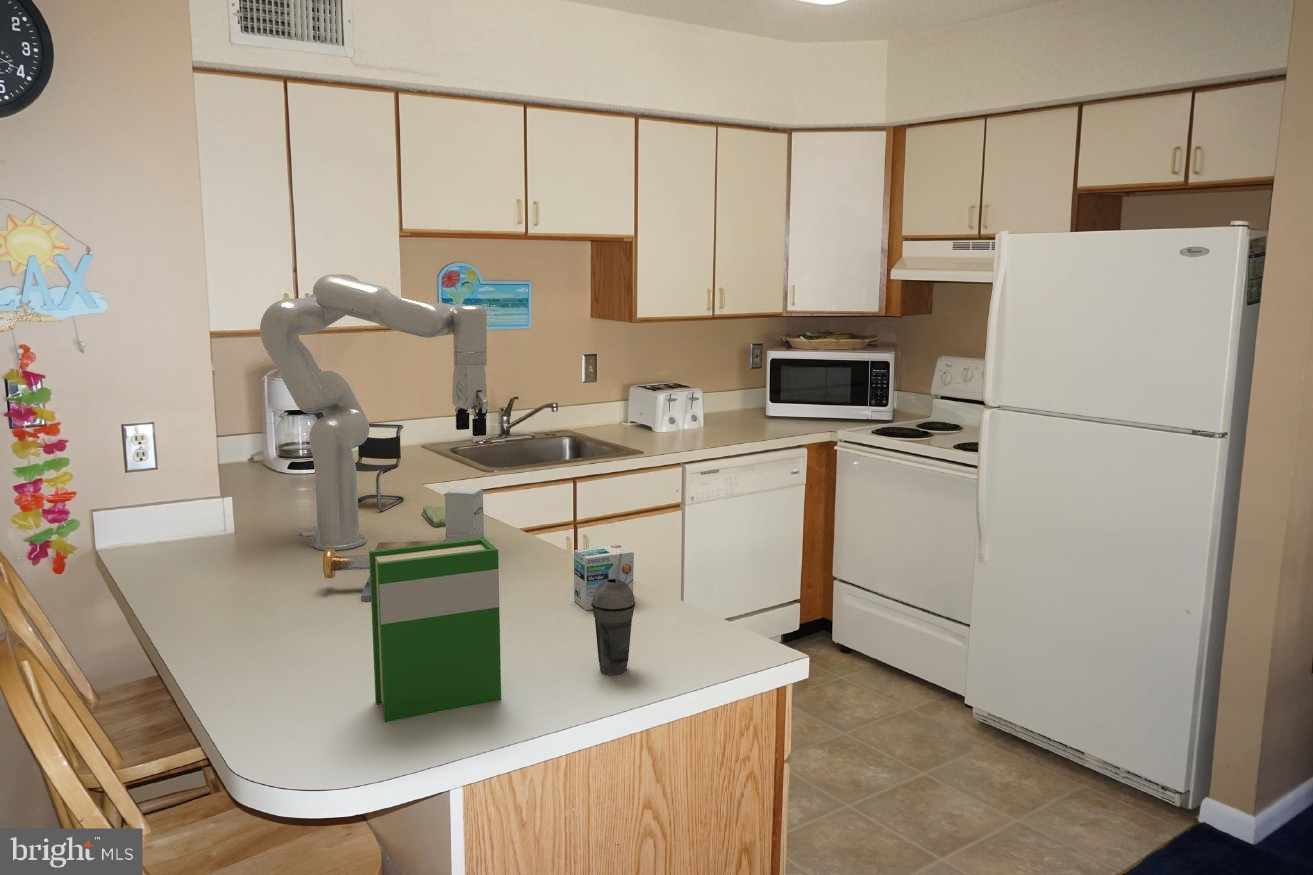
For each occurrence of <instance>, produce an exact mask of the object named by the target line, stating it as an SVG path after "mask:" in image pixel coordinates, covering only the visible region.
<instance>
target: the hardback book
mask: <svg viewBox="0 0 1313 875" xmlns="http://www.w3.org/2000/svg"><path fill="white" fill-rule="evenodd" d="M368 555H369V562H370V570H369V576H370V585H371V601H370V604H371V606H370V607H371V626H372V627H371V628H372V629H371V630H372V649H373V650H372V652H373V653H372V654H373V672H374V674H373V675H374V695H375V696H374V697H375V698H374V699H375V704H376V705H381V704H382V710H383V714H382V715H383V721H384V723H388V722H393V721H399V720H403V719H408V718H413V717H419V716H425V715H429V714H434V713H440V712H446V711H449V710H457V709H461V708H468V707H473V706H477V705H481V704H486V703H491V702H497V701H501V700H502V673H501V672H502V671H501V670H502V669H501V668H502V666H501V663H502V662H501V626H500V625H501V624H500V623H501V619H500V615H501V614H500V575H499V574H500V573H499V572H500V571H499V549H498V547H496V546H495V545H494V544H493V543H491V542H490V541H488V539H487V538H485V537H482V538H478V539H469V540H461V541H452V542H443V543H434V544H426V545H417V546H408V547H400V548H391V549H382V550H375V549H374V550H369V551H368Z"/></svg>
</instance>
